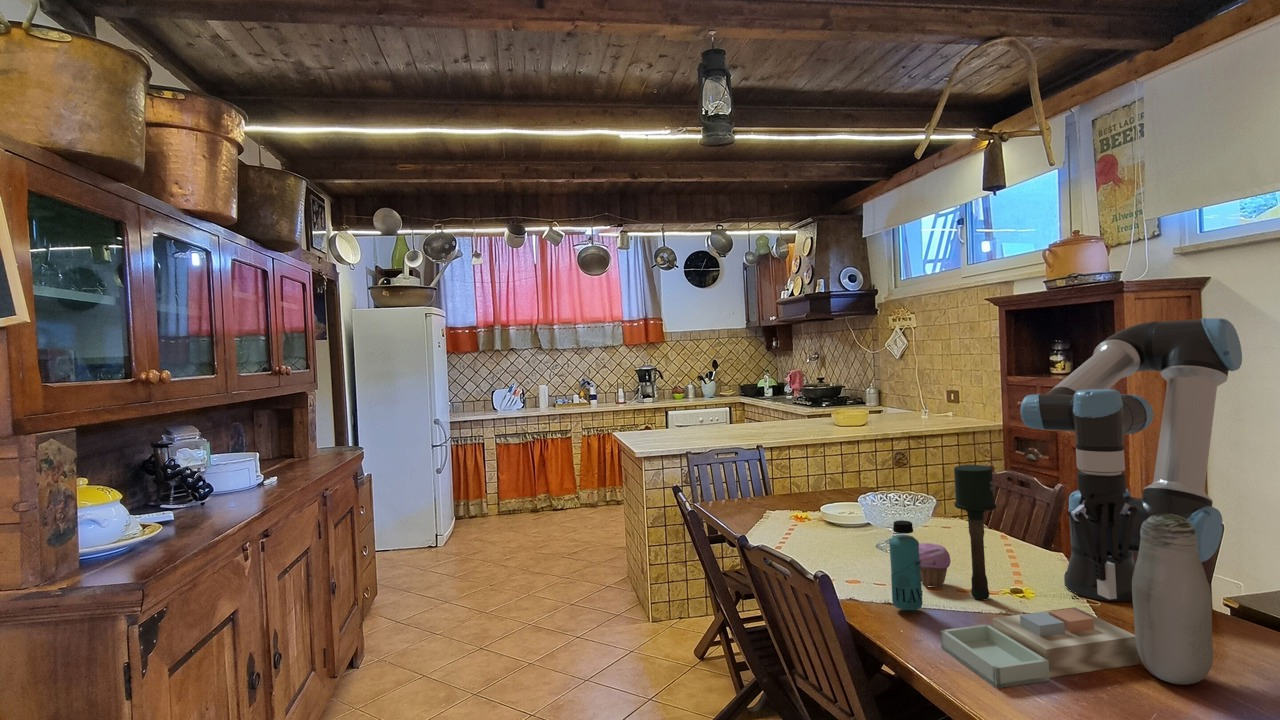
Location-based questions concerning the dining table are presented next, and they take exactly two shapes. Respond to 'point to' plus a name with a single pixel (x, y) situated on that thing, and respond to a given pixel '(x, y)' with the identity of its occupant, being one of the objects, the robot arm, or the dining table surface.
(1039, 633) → the tile slate
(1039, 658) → the tray
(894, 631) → the dining table surface
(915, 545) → the beverage bottle
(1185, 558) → the grey tall rounded cylinder
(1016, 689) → the dining table surface
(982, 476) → the potato masher grenade
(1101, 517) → the robot arm
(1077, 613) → the tile terracotta
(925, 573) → the cupcake
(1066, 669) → the board
